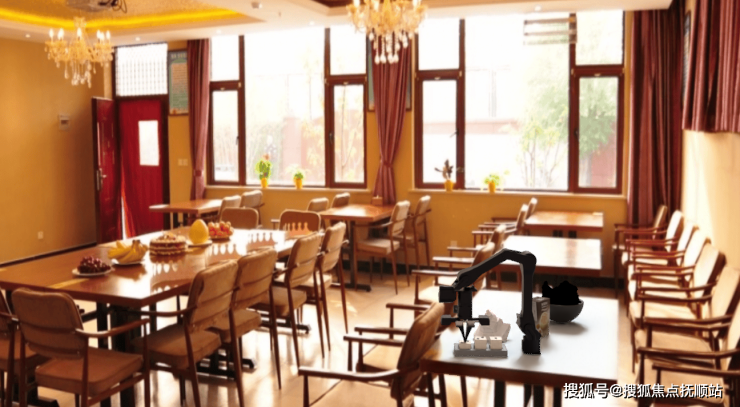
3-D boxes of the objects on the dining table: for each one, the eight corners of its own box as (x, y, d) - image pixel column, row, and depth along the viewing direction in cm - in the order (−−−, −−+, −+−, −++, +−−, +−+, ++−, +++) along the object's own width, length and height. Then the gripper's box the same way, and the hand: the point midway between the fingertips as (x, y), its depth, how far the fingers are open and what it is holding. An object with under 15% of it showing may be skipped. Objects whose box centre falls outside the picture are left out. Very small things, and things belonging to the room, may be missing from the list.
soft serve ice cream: (509, 348, 272) (505, 317, 268) (472, 348, 277) (468, 318, 272) (511, 332, 283) (507, 302, 279) (475, 333, 288) (471, 303, 284)
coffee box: (538, 339, 278) (538, 302, 277) (524, 336, 283) (525, 299, 281) (549, 335, 285) (550, 298, 283) (536, 332, 289) (537, 295, 288)
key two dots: (485, 346, 264) (485, 336, 264) (486, 349, 260) (486, 339, 259) (474, 346, 265) (474, 335, 264) (475, 349, 260) (475, 339, 260)
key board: (504, 349, 266) (504, 343, 266) (507, 356, 257) (507, 350, 257) (454, 349, 268) (454, 343, 267) (455, 356, 259) (455, 350, 258)
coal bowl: (590, 321, 305) (591, 280, 303) (571, 331, 290) (571, 288, 289) (550, 314, 318) (550, 275, 317) (529, 323, 304) (530, 282, 302)
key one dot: (500, 346, 264) (500, 336, 263) (502, 350, 259) (502, 339, 259) (489, 346, 264) (489, 336, 264) (490, 349, 260) (490, 339, 259)
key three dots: (470, 350, 265) (470, 339, 264) (470, 353, 260) (470, 343, 260) (458, 350, 265) (458, 339, 265) (459, 353, 261) (459, 343, 260)
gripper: (487, 297, 268) (487, 335, 270) (440, 297, 270) (440, 335, 271) (489, 304, 257) (489, 344, 259) (441, 304, 259) (441, 343, 260)
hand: (465, 341), depth 262 cm, fingers closed, pressing on key three dots
